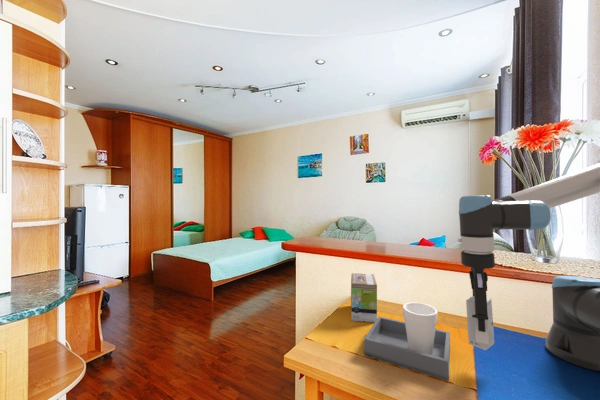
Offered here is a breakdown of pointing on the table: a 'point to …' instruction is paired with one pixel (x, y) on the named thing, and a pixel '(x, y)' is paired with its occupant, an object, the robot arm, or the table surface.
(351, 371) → the table surface
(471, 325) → the skincare box
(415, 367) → the tote
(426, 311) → the foam cup
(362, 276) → the tea box
